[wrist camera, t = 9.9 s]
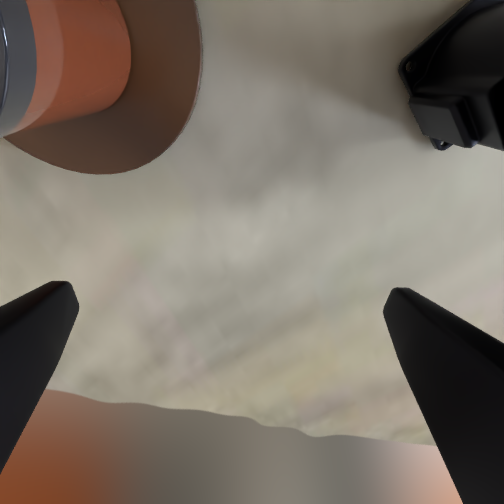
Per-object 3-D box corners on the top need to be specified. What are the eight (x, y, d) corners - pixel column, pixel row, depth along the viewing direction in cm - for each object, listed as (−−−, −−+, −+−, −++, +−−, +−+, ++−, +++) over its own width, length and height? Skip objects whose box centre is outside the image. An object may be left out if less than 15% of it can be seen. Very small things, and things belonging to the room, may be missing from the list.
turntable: (-16, -330, 9) (-42, -372, 8) (254, 54, 15) (255, 53, 14) (-131, 23, 14) (-155, 19, 13) (111, 209, 20) (106, 215, 19)
